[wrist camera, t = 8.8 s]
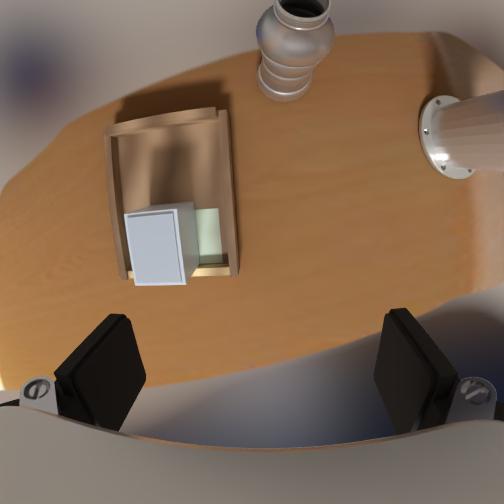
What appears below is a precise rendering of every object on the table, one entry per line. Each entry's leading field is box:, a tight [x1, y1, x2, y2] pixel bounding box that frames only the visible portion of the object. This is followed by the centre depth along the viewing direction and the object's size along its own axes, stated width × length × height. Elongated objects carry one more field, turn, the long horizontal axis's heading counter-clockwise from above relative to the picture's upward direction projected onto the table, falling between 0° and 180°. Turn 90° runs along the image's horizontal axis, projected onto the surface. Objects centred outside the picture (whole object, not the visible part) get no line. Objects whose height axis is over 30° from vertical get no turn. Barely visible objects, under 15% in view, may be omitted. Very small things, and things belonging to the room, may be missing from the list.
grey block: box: [124, 201, 200, 286], centre depth 33 cm, size 6×8×8 cm
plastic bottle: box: [256, 0, 335, 102], centre depth 23 cm, size 6×7×20 cm
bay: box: [103, 107, 240, 280], centre depth 34 cm, size 16×20×5 cm
